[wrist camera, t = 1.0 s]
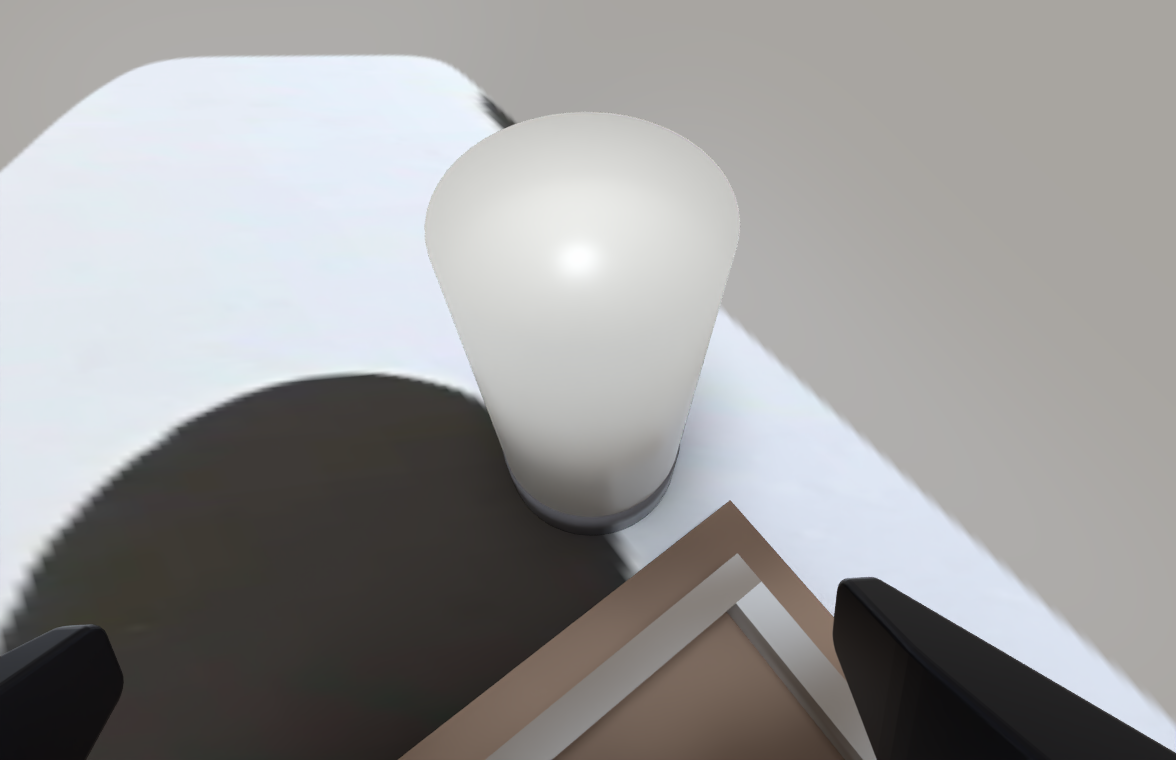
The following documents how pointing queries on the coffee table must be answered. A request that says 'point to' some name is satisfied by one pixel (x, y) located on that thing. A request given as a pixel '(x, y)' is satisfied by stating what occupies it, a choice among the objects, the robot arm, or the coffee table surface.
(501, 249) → the white cylinder
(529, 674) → the walnut board
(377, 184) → the coffee table surface
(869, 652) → the robot arm
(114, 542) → the coffee table surface
